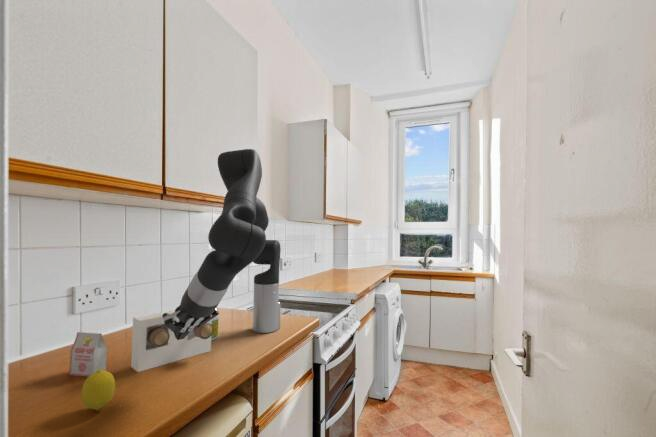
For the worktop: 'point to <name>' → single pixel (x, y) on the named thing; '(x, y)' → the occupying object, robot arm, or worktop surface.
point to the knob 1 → (158, 336)
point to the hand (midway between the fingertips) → (179, 336)
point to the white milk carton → (87, 354)
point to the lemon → (98, 389)
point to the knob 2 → (204, 331)
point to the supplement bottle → (215, 328)
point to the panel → (170, 352)
